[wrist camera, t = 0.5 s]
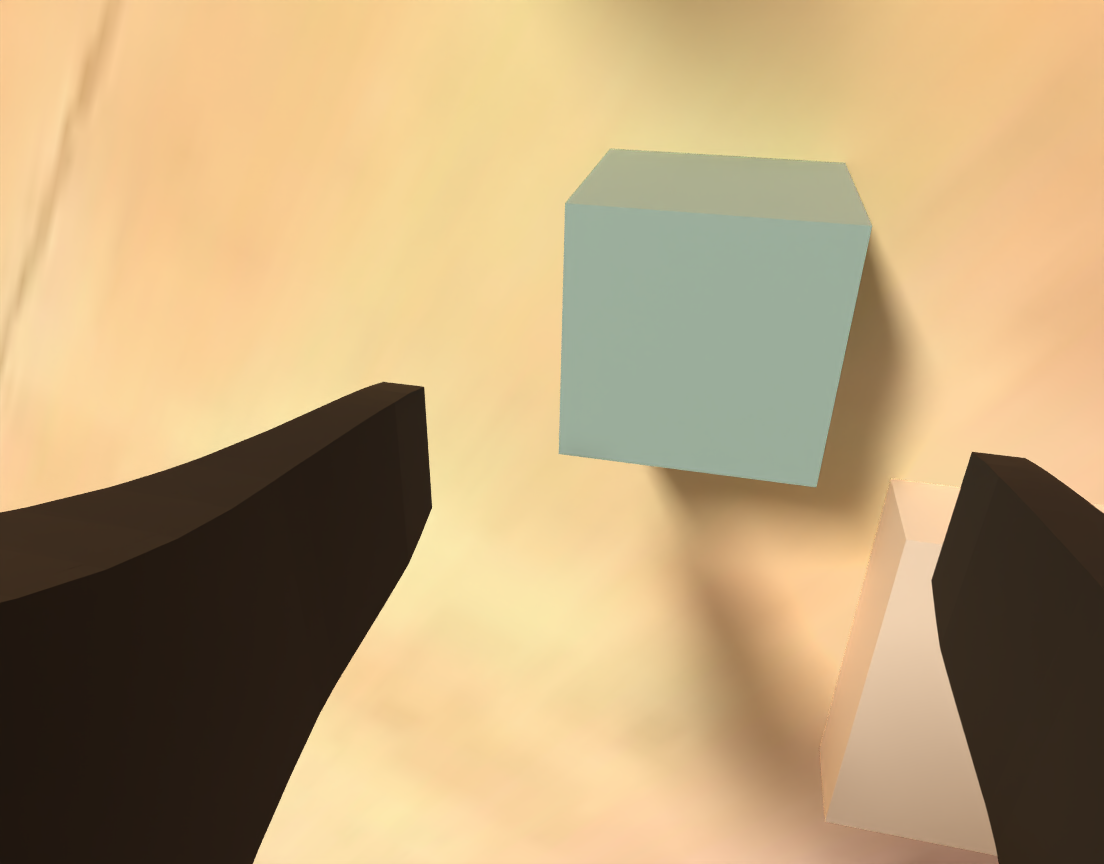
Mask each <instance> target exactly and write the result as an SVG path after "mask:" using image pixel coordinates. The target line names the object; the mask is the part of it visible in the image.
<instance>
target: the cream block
mask: <svg viewBox="0 0 1104 864" xmlns="http://www.w3.org/2000/svg"><path fill="white" fill-rule="evenodd" d="M960 488H961V487H956V486H948V485H940V484H932V483H924V482H916V481H908V480H900V479H892V478H891V479H890V483H889V486H888V490H887V494H886V498H885V501H884V505H883V509H882V513H881V517H880V520H879V524H878V528H877V532H876V536H875V539H874V543H873V547H872V551H871V555H870V558H869V562H868V566H867V570H866V573H865V577H864V581H863V585H862V589H861V592H860V596H859V600H858V604H857V608H856V611H855V615H854V619H853V623H852V626H851V630H850V634H849V638H848V642H847V645H846V649H845V653H844V657H843V661H842V664H841V668H840V672H839V676H838V680H837V683H836V687H835V691H834V695H833V698H832V702H831V706H830V710H829V714H828V717H827V721H826V725H825V729H824V733H823V736H822V740H821V744H820V748H819V752H820V765H821V778H822V791H823V804H824V817H825V822H828V823H833V824H838V825H843V826H848V827H853V828H858V829H863V830H868V831H873V832H878V833H883V834H888V835H893V836H898V837H903V838H908V839H913V840H918V841H923V842H929V843H934V844H939V845H944V846H949V847H954V848H959V849H964V850H969V851H974V852H979V853H984V854H989V855H994V856H997V851H996V846H995V842H994V838H993V834H992V829H991V825H990V821H989V817H988V813H987V809H986V806H985V802H984V799H983V795H982V792H981V789H980V785H979V782H978V778H977V775H976V772H975V768H974V765H973V761H972V758H971V755H970V751H969V748H968V744H967V741H966V738H965V734H964V731H963V727H962V724H961V721H960V717H959V714H958V710H957V707H956V704H955V700H954V697H953V693H952V690H951V686H950V683H949V679H948V676H947V672H946V668H945V665H944V661H943V657H942V654H941V650H940V645H939V638H938V631H937V624H936V617H935V609H934V600H933V591H932V582H931V580H932V576H933V573H934V570H935V567H936V564H937V561H938V558H939V554H940V551H941V548H942V545H943V542H944V539H945V536H946V532H947V529H948V526H949V523H950V520H951V517H952V513H953V510H954V507H955V504H956V501H957V498H958V495H959V491H960ZM1092 505H1093V506H1095V507H1096V508H1097V509H1099V510H1100V511H1101V512H1103V513H1104V505H1099V504H1092Z"/></svg>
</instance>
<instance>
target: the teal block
mask: <svg viewBox="0 0 1104 864" xmlns="http://www.w3.org/2000/svg"><path fill="white" fill-rule="evenodd" d="M871 229H872V225H871V222H870V220H869V218H868V215H867V213H866V211H865V208H864V206H863V203H862V201H861V199H860V196H859V194H858V192H857V189H856V187H855V185H854V182H853V180H852V178H851V175H850V173H849V171H848V168H847V166H846V164H845V163H836V162H820V161H804V160H788V159H771V158H755V157H739V156H722V155H706V154H690V153H674V152H657V151H641V150H625V149H610V150H609V151H608V152H607V153H606V154H605V156H604V157H603V158H602V159H601V160H600V162H599V163H598V164H597V165H596V167H595V168H594V169H593V170H592V171H591V173H590V174H589V175H588V176H587V177H586V179H585V180H584V181H583V182H582V184H581V185H580V186H579V187H578V188H577V190H576V191H575V192H574V193H573V194H572V196H571V197H570V198H569V199H568V201H567V202H566V203H565V233H564V272H563V311H562V350H561V389H560V429H559V454H564V455H571V456H579V457H587V458H594V459H602V460H610V461H617V462H625V463H633V464H640V465H648V466H656V467H663V468H671V469H679V470H687V471H694V472H702V473H710V474H717V475H725V476H733V477H740V478H748V479H756V480H763V481H771V482H779V483H787V484H794V485H802V486H810V487H817V482H818V478H819V473H820V468H821V464H822V459H823V454H824V450H825V445H826V440H827V435H828V431H829V426H830V421H831V417H832V412H833V407H834V403H835V398H836V393H837V388H838V384H839V379H840V374H841V370H842V365H843V360H844V356H845V351H846V346H847V341H848V337H849V332H850V327H851V323H852V318H853V313H854V309H855V304H856V299H857V295H858V290H859V285H860V280H861V276H862V271H863V266H864V262H865V257H866V252H867V248H868V243H869V238H870V233H871Z"/></svg>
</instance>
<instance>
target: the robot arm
mask: <svg viewBox="0 0 1104 864" xmlns="http://www.w3.org/2000/svg"><path fill="white" fill-rule="evenodd" d="M431 509H432V499H431V484H430V469H429V454H428V439H427V424H426V409H425V394H424V387H421V386H413V385H404V384H396V383H388V382H382V383H379V384H375V385H372V386H369V387H366V388H364V389H361V390H359V391H356V392H354V393H351V394H349V395H347V396H344V397H342V398H340V399H338V400H335V401H333V402H331V403H329V404H326V405H324V406H322V407H320V408H317V409H315V410H313V411H311V412H309V413H306V414H304V415H302V416H300V417H297V418H295V419H293V420H291V421H288V422H286V423H284V424H282V425H280V426H277V427H275V428H273V429H271V430H268V431H266V432H263V433H261V434H258V435H256V436H254V437H251V438H249V439H246V440H244V441H241V442H239V443H236V444H234V445H231V446H229V447H226V448H224V449H221V450H219V451H217V452H214V453H212V454H209V455H207V456H204V457H202V458H199V459H196V460H193V461H191V462H188V463H185V464H182V465H179V466H176V467H173V468H170V469H168V470H165V471H161V472H158V473H155V474H152V475H149V476H145V477H142V478H139V479H136V480H132V481H129V482H126V483H123V484H119V485H116V486H112V487H109V488H105V489H101V490H96V491H92V492H88V493H84V494H80V495H76V496H72V497H68V498H64V499H59V500H55V501H51V502H47V503H43V504H39V505H35V506H31V507H26V508H21V509H17V510H11V511H6V512H1V513H0V864H253V862H254V859H255V857H256V854H257V852H258V849H259V847H260V845H261V842H262V840H263V838H264V835H265V833H266V831H267V829H268V826H269V824H270V822H271V819H272V817H273V815H274V813H275V810H276V808H277V806H278V803H279V801H280V799H281V797H282V794H283V792H284V790H285V787H286V785H287V783H288V781H289V778H290V776H291V774H292V772H293V770H294V767H295V765H296V763H297V761H298V759H299V757H300V755H301V752H302V750H303V748H304V746H305V744H306V742H307V740H308V738H309V735H310V733H311V731H312V729H313V727H314V725H315V723H316V720H317V718H318V716H319V714H320V712H321V710H322V709H323V707H324V705H325V703H326V701H327V699H328V698H329V696H330V694H331V692H332V690H333V688H334V687H335V685H336V683H337V682H338V680H339V678H340V677H341V675H342V673H343V672H344V670H345V668H346V667H347V665H348V664H349V662H350V660H351V659H352V657H353V655H354V654H355V652H356V650H357V649H358V647H359V646H360V644H361V642H362V641H363V639H364V637H365V636H366V634H367V632H368V631H369V629H370V628H371V626H372V624H373V623H374V621H375V619H376V618H377V616H378V614H379V613H380V611H381V610H382V608H383V606H384V605H385V603H386V601H387V600H388V598H389V596H390V595H391V593H392V591H393V589H394V588H395V586H396V584H397V583H398V581H399V579H400V578H401V576H402V574H403V573H404V571H405V569H406V567H407V566H408V564H409V562H410V559H411V557H412V555H413V553H414V550H415V548H416V546H417V543H418V541H419V539H420V536H421V534H422V531H423V529H424V526H425V524H426V521H427V519H428V516H429V514H430V511H431ZM931 582H932V591H933V600H934V609H935V617H936V624H937V631H938V638H939V645H940V650H941V654H942V657H943V661H944V665H945V668H946V672H947V676H948V679H949V683H950V686H951V690H952V693H953V697H954V700H955V704H956V707H957V710H958V714H959V717H960V721H961V724H962V727H963V731H964V734H965V738H966V741H967V744H968V748H969V751H970V755H971V758H972V761H973V765H974V768H975V772H976V775H977V778H978V782H979V785H980V789H981V792H982V795H983V799H984V802H985V806H986V809H987V813H988V817H989V821H990V825H991V829H992V834H993V838H994V842H995V846H996V851H997V856H998V862H999V864H1104V513H1103V512H1101V511H1100V510H1099V509H1097V508H1096V507H1095V506H1093V505H1092V504H1091V503H1089V502H1088V501H1087V500H1085V499H1084V498H1083V497H1081V496H1080V495H1079V494H1077V493H1076V492H1075V491H1073V490H1072V489H1071V488H1069V487H1068V486H1066V485H1065V484H1064V483H1062V482H1061V481H1059V480H1058V479H1057V478H1055V477H1054V476H1052V475H1051V474H1050V473H1048V472H1047V471H1045V470H1044V469H1042V468H1041V467H1039V466H1038V465H1036V464H1034V463H1033V462H1031V461H1029V460H1027V459H1026V458H1019V457H1011V456H1002V455H994V454H986V453H977V452H972V454H971V457H970V460H969V463H968V466H967V469H966V473H965V476H964V479H963V482H962V485H961V488H960V491H959V495H958V498H957V501H956V504H955V507H954V510H953V513H952V517H951V520H950V523H949V526H948V529H947V532H946V536H945V539H944V542H943V545H942V548H941V551H940V554H939V558H938V561H937V564H936V567H935V570H934V573H933V576H932V580H931Z"/></svg>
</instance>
